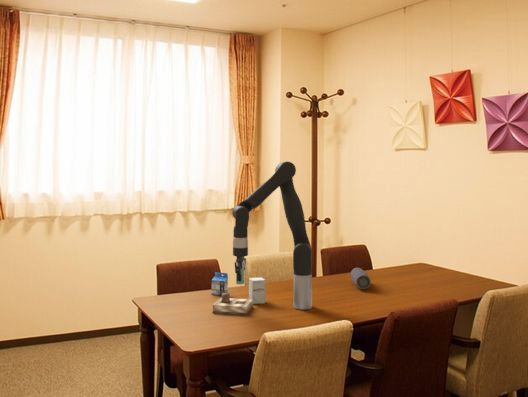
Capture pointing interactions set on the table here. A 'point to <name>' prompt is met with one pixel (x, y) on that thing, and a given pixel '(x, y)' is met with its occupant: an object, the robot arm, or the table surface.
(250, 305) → the peg board
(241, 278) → the teal pin
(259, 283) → the supplement box
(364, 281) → the bluetooth speaker
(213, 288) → the label tape box
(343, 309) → the table surface
